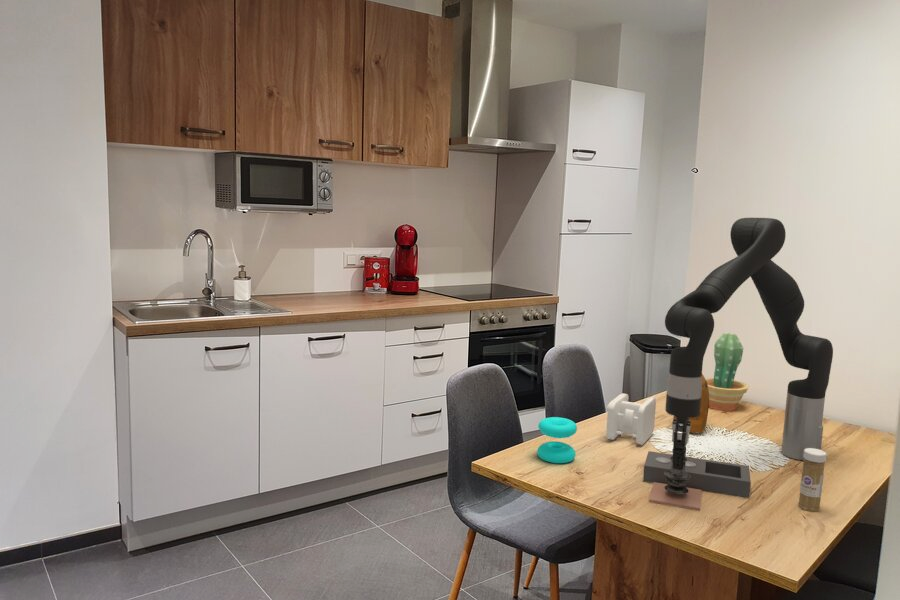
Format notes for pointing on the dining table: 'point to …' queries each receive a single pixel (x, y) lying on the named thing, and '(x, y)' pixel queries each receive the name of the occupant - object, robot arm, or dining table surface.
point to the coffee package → (701, 410)
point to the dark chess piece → (677, 478)
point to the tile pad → (675, 497)
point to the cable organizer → (631, 418)
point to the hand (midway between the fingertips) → (678, 465)
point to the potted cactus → (726, 374)
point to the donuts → (554, 449)
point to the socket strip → (702, 474)
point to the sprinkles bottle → (812, 479)
